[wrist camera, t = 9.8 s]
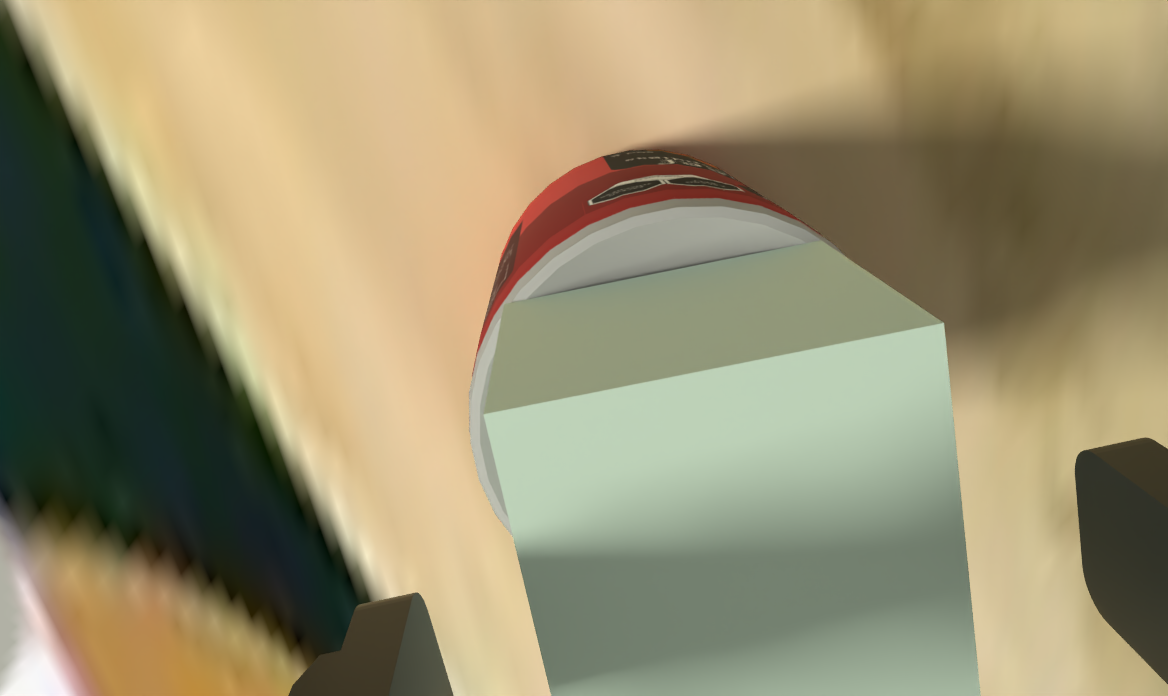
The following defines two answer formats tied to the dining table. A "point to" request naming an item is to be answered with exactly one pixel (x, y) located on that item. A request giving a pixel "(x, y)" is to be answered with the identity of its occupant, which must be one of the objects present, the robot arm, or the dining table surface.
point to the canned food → (620, 246)
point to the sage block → (736, 483)
